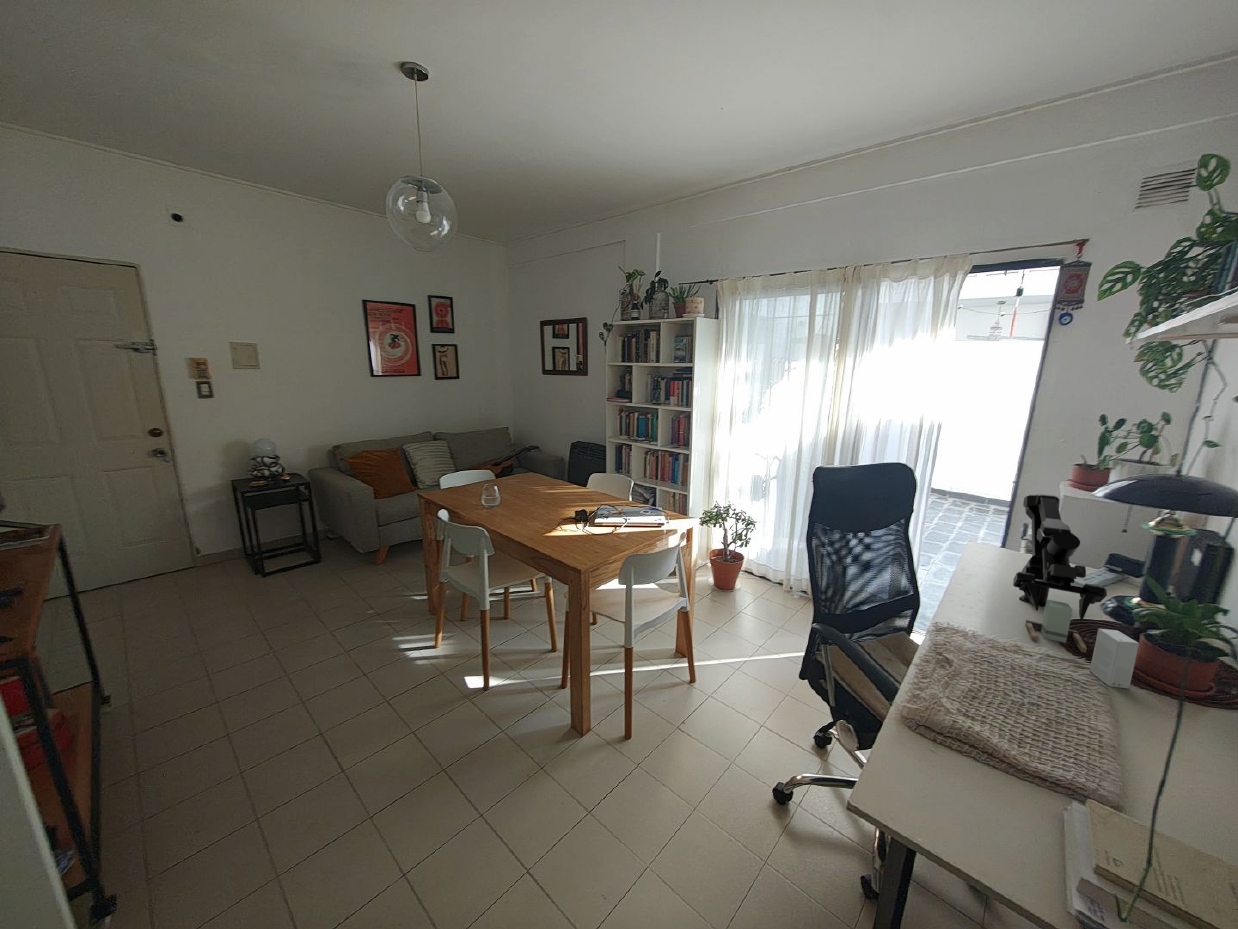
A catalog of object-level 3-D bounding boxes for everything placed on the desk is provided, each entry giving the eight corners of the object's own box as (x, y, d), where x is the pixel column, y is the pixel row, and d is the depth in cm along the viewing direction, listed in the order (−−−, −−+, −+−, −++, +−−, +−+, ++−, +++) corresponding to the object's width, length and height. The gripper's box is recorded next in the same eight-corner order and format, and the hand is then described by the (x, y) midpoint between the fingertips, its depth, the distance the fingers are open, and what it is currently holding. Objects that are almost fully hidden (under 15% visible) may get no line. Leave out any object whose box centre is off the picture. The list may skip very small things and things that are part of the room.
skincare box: (1130, 689, 106) (1140, 643, 104) (1108, 687, 107) (1118, 641, 105) (1108, 673, 112) (1117, 629, 110) (1088, 671, 113) (1097, 628, 111)
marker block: (1040, 630, 131) (1046, 599, 130) (1062, 635, 129) (1068, 603, 127) (1044, 638, 128) (1050, 605, 126) (1066, 643, 125) (1072, 610, 123)
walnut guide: (1025, 625, 134) (1026, 619, 134) (1076, 636, 128) (1077, 631, 128) (1031, 640, 126) (1032, 634, 126) (1085, 653, 120) (1087, 647, 120)
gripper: (1021, 546, 132) (1022, 595, 125) (1111, 559, 122) (1117, 613, 115) (1012, 562, 140) (1012, 609, 133) (1096, 576, 130) (1101, 628, 123)
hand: (1058, 614), depth 126 cm, fingers open, 9 cm apart
